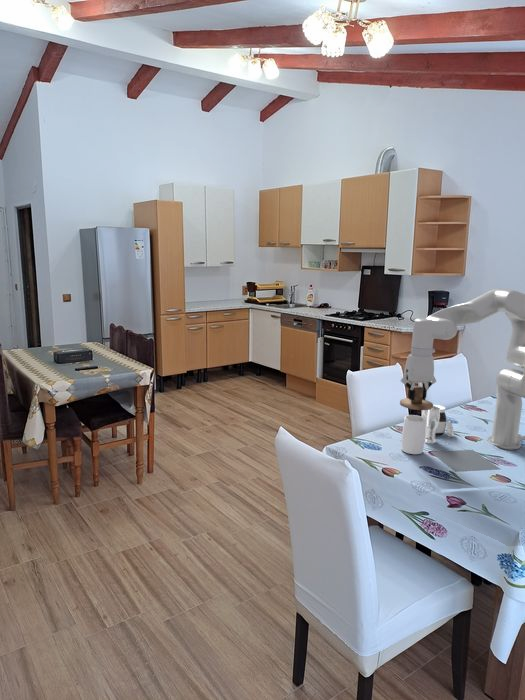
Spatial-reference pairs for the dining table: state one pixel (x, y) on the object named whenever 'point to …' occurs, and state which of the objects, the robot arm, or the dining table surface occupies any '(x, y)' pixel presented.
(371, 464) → the dining table surface
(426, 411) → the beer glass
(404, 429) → the cup
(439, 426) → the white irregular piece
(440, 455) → the mat
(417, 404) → the lid
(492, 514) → the dining table surface
